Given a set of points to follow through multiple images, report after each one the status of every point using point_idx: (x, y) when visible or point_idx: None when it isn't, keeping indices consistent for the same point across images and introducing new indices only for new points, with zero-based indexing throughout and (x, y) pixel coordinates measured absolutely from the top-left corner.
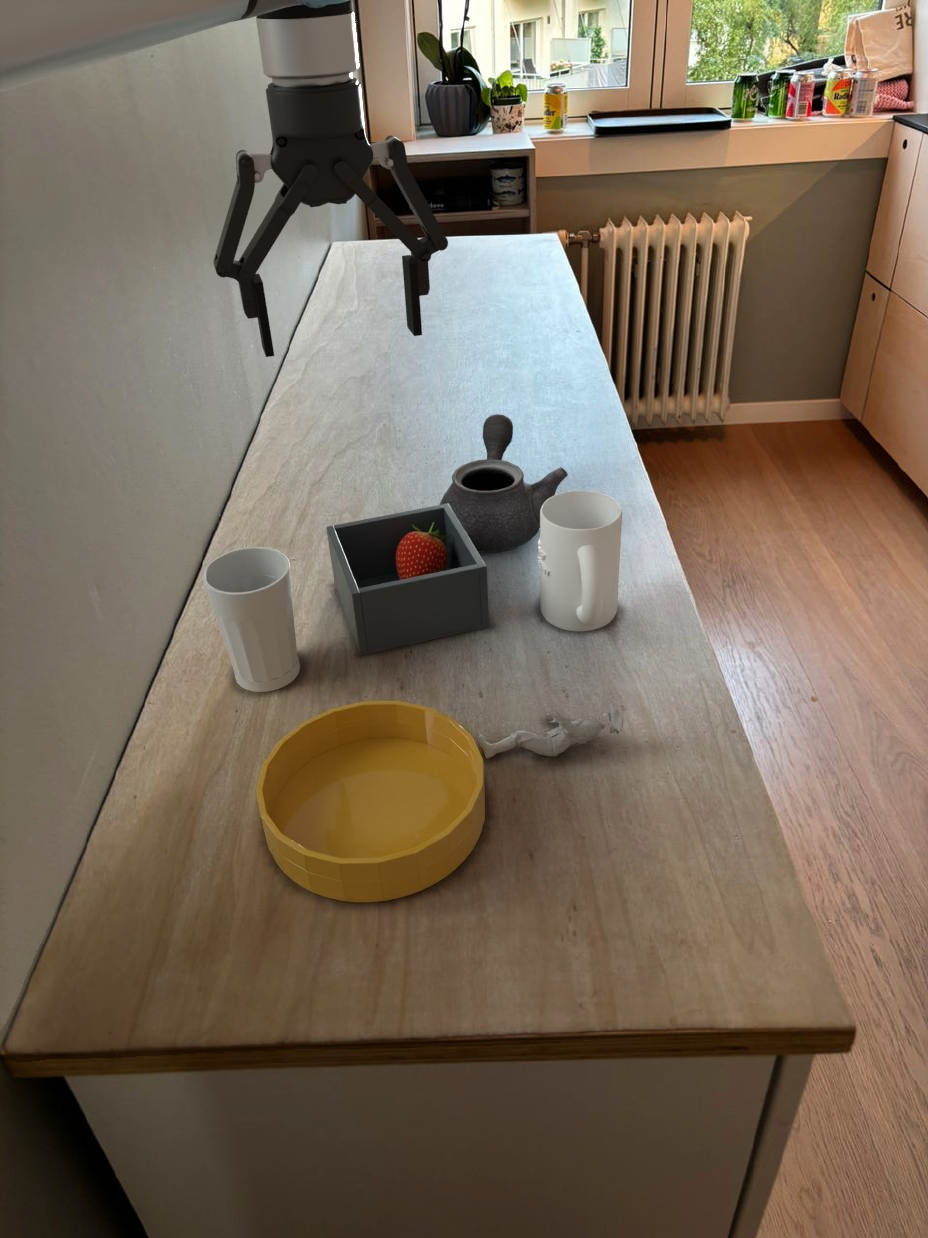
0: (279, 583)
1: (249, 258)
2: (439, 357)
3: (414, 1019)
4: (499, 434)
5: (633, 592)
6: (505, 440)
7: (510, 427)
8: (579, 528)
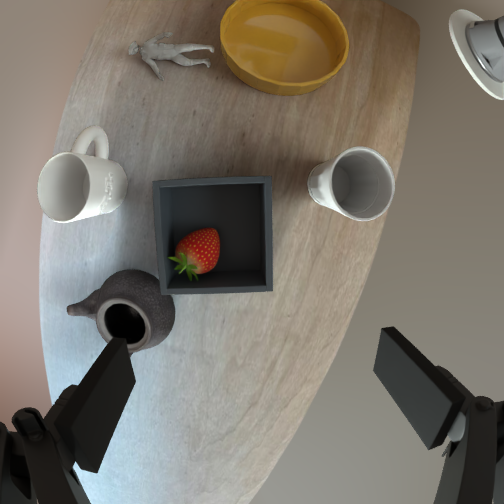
0: (339, 154)
1: (493, 430)
2: (154, 492)
3: None
4: None
5: None
6: None
7: None
8: (72, 215)
